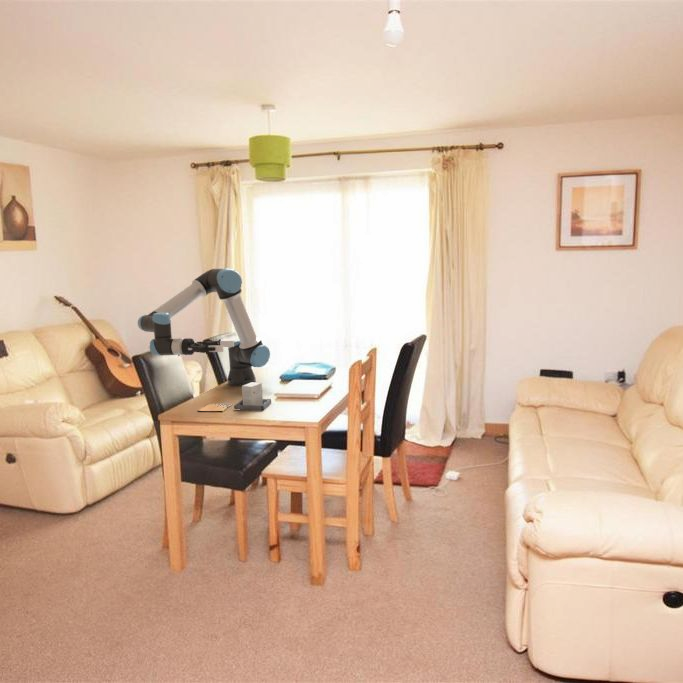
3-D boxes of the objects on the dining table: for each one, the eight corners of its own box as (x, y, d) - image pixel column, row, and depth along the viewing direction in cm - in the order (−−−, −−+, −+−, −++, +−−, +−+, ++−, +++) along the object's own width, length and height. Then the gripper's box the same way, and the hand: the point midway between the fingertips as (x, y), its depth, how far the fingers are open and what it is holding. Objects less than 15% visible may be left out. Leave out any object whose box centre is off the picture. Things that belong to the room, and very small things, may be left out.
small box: (253, 404, 265) (251, 381, 264) (263, 405, 263) (261, 382, 261) (242, 408, 258) (241, 385, 257) (252, 409, 256) (251, 386, 254)
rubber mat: (207, 404, 267) (207, 403, 267) (232, 404, 265) (232, 403, 265) (197, 411, 256) (197, 410, 256) (222, 412, 254) (222, 410, 254)
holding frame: (243, 403, 268) (243, 398, 267) (271, 403, 266) (271, 399, 265) (234, 410, 256) (234, 406, 255) (263, 410, 253) (263, 406, 253)
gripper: (195, 350, 274) (238, 349, 271) (172, 359, 250) (218, 359, 246) (194, 334, 273) (237, 333, 269) (170, 342, 249) (217, 342, 245)
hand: (228, 346), depth 258 cm, fingers open, 13 cm apart
